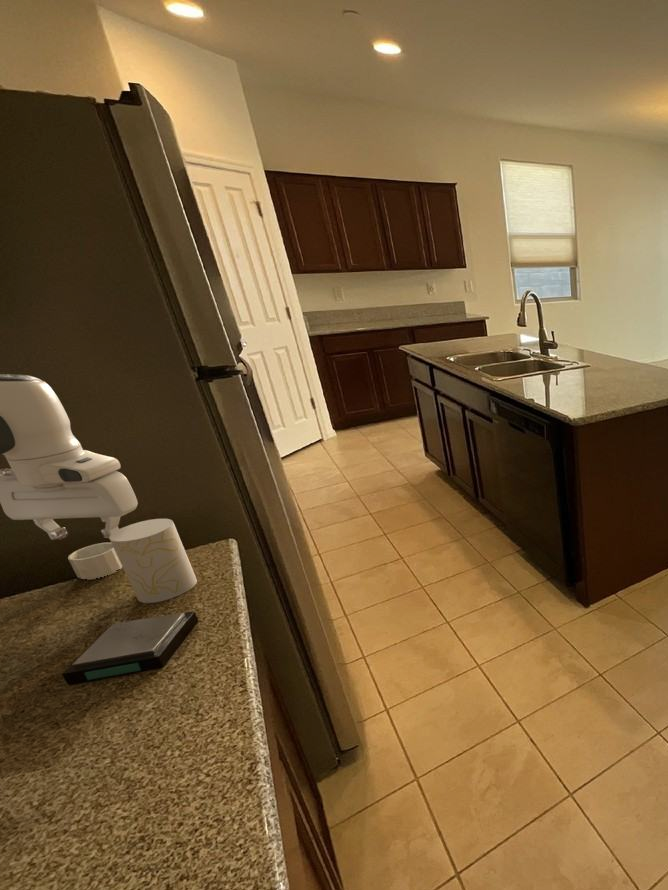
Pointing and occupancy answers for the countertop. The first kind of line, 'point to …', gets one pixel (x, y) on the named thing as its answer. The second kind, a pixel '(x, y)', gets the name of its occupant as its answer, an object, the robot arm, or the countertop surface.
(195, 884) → the countertop surface
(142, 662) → the scale
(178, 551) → the cup
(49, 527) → the robot arm
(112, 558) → the bowl
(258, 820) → the countertop surface
